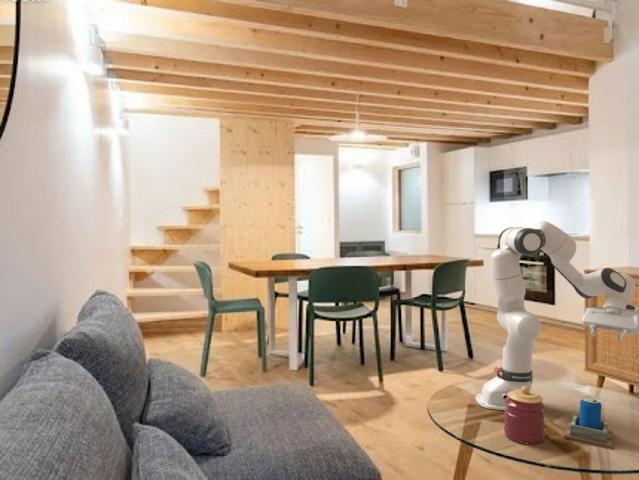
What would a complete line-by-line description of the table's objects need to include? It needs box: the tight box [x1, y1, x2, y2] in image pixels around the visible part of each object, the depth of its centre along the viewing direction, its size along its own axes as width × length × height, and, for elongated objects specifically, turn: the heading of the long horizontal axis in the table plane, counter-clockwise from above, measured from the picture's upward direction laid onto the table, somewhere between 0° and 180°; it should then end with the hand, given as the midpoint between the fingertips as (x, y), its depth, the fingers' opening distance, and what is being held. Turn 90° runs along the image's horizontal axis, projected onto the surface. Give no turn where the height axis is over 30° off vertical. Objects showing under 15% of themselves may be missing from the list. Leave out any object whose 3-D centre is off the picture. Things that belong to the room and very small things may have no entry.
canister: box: [503, 386, 547, 445], centre depth 170 cm, size 13×13×18 cm
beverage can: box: [579, 396, 602, 430], centre depth 171 cm, size 6×6×12 cm
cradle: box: [564, 414, 614, 450], centre depth 171 cm, size 14×14×4 cm
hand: (606, 337), depth 192 cm, fingers open, 8 cm apart
